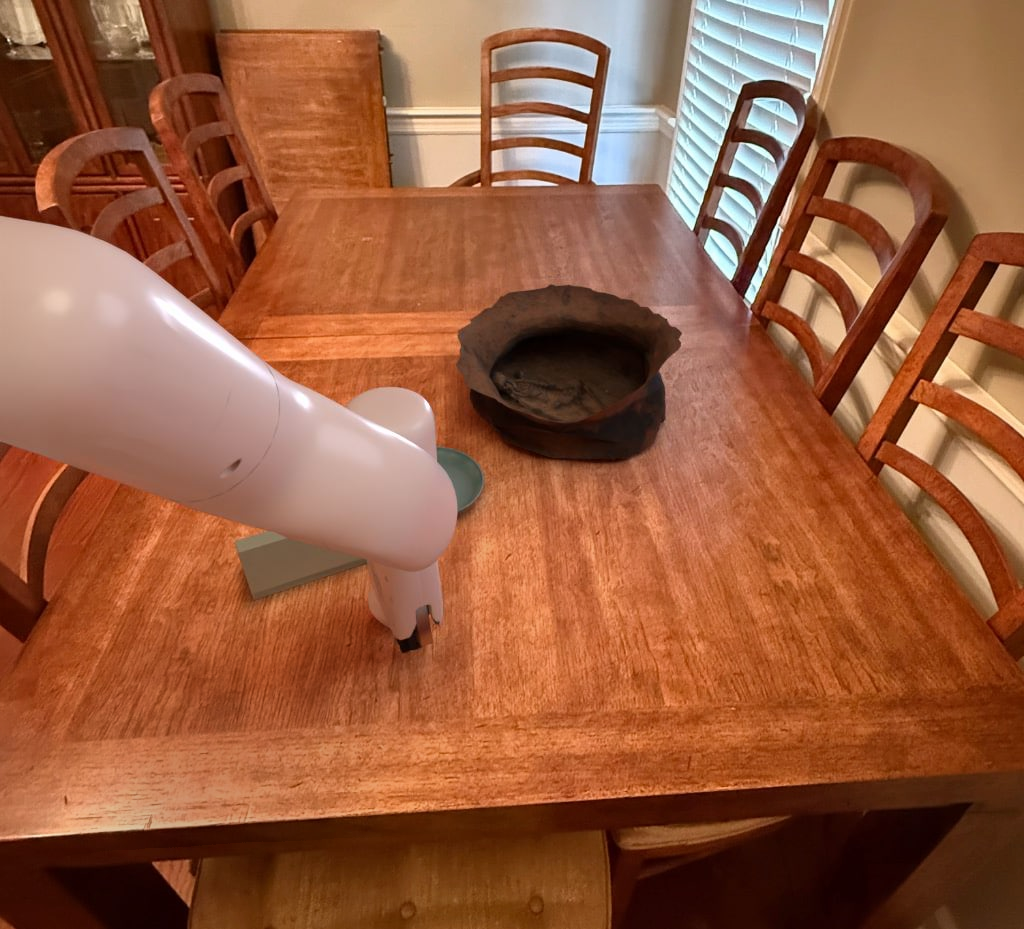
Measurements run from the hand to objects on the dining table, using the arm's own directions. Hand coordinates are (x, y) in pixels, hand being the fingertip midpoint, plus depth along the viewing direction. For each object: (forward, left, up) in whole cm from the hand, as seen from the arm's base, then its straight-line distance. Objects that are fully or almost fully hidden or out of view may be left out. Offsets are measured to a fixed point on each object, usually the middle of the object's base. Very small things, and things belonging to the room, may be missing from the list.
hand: (413, 642), depth 74 cm
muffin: (0, +5, -2) cm, 5 cm away
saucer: (+11, +23, -2) cm, 26 cm away
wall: (-5, +17, -2) cm, 18 cm away
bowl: (+37, +33, -2) cm, 50 cm away
